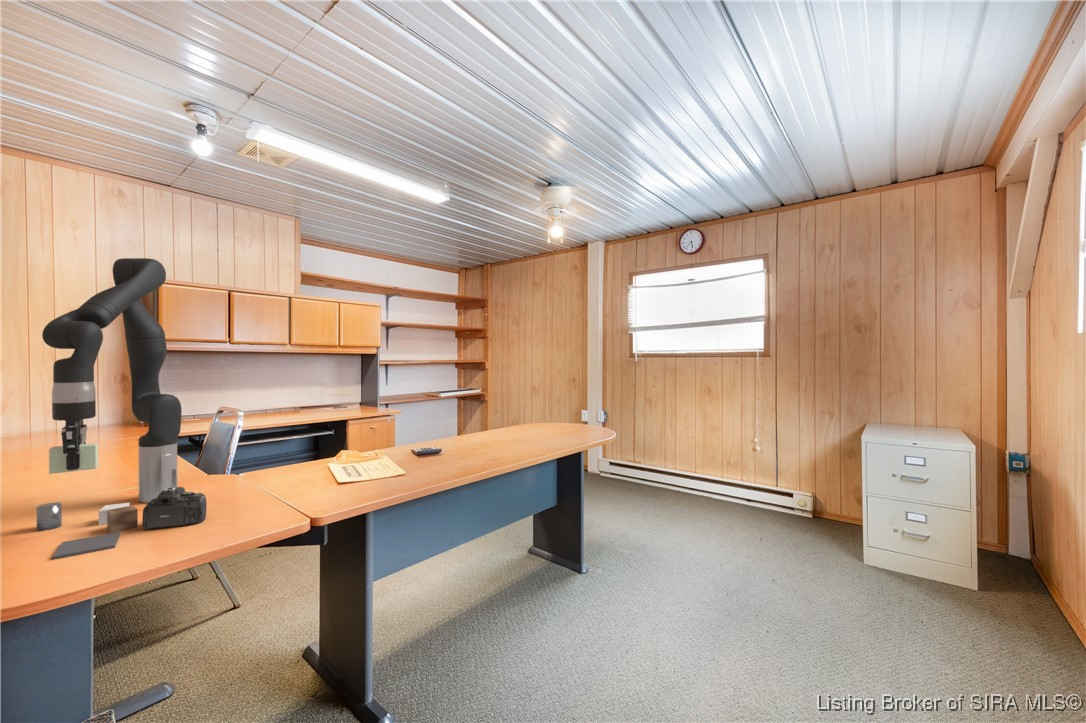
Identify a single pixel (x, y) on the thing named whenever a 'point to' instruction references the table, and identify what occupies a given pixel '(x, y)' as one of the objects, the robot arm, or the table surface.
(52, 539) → the table surface
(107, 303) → the robot arm
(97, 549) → the mat
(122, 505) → the grey box
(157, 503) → the camera
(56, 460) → the sage block
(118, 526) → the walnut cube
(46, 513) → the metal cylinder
